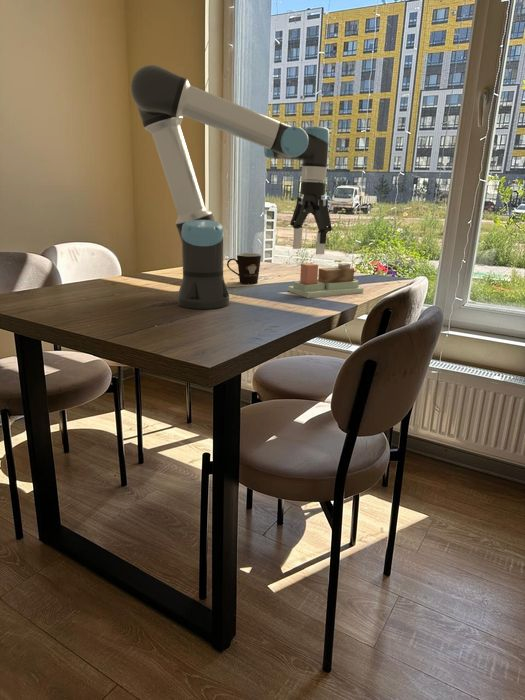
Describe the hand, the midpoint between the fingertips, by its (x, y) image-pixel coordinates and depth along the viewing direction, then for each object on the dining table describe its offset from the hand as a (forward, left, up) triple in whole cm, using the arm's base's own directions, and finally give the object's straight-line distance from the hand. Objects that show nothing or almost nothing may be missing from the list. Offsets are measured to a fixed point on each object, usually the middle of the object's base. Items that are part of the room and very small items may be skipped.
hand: (308, 251), depth 165 cm
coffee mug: (-10, +25, -14) cm, 30 cm away
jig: (+8, 0, -14) cm, 16 cm away
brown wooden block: (+11, 0, -12) cm, 17 cm away
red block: (+1, 0, -12) cm, 12 cm away
